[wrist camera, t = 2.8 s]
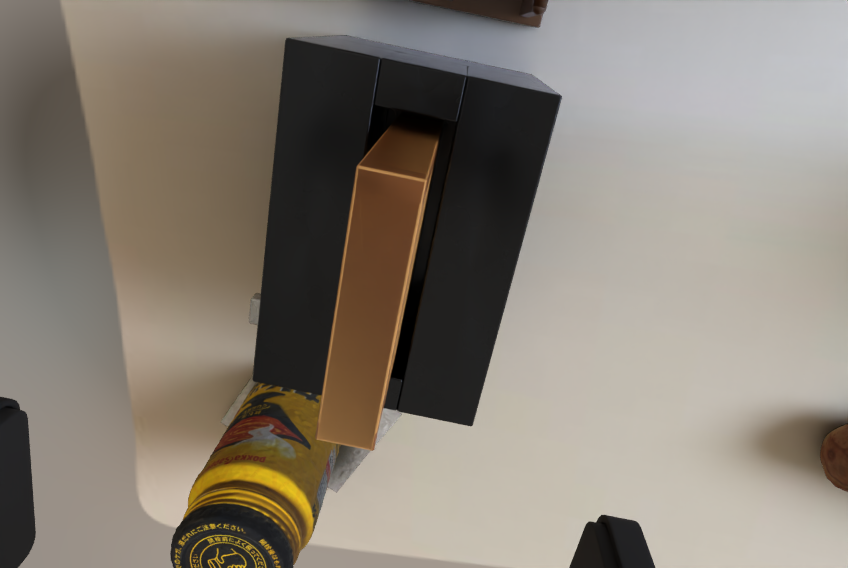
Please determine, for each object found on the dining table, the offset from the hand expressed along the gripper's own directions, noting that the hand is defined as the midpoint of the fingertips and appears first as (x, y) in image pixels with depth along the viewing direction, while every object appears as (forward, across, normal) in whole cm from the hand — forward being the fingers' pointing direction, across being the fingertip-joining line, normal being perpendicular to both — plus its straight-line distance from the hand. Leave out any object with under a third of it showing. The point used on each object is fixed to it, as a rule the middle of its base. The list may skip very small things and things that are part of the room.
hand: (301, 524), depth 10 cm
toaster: (+23, 0, 0) cm, 23 cm away
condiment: (+23, +3, +15) cm, 28 cm away
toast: (+18, 0, 0) cm, 18 cm away
